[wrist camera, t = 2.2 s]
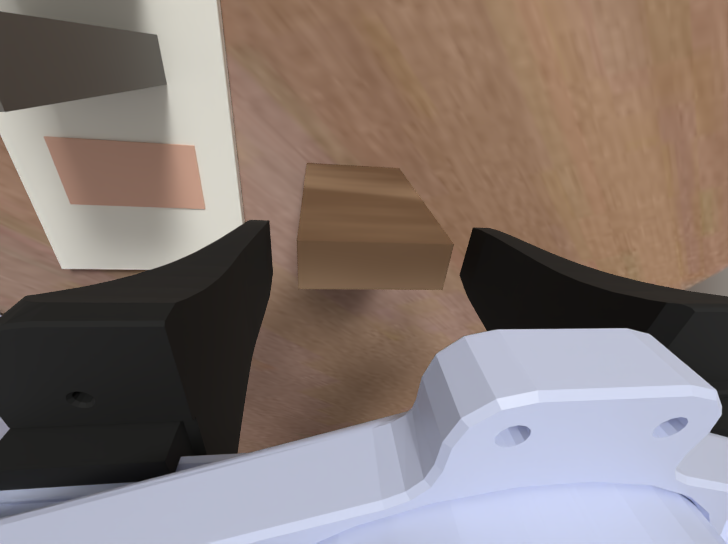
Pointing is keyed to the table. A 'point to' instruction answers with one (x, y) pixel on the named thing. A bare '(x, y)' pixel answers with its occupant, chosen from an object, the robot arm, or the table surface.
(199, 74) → the board
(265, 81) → the table surface
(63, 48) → the domino
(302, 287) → the domino
